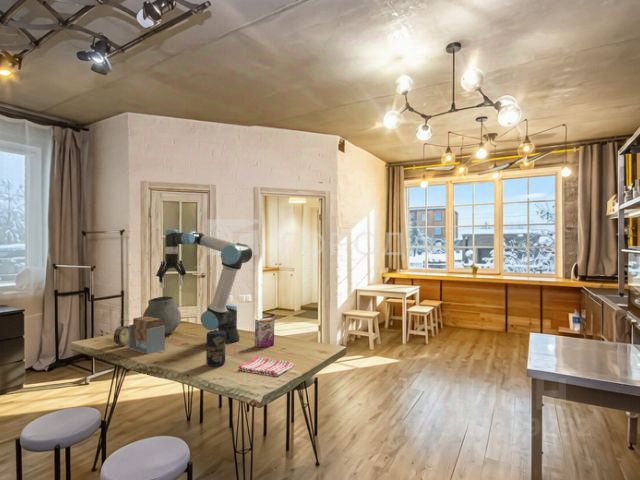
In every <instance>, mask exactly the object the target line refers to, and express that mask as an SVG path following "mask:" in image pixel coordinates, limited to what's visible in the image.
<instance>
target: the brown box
mask: <svg viewBox="0 0 640 480" xmlns="http://www.w3.org/2000/svg"><path fill="white" fill-rule="evenodd" d="M132 322H133V323H132V325H133V339H136V340H140V341H144V342H146V329H150V328H155V327H159V326H161V319H158V318H153V317H147V316H144V317H143V316H141V317H134V318H133V319H132Z"/></svg>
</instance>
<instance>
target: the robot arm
mask: <svg viewBox="0 0 640 480" xmlns="http://www.w3.org/2000/svg"><path fill="white" fill-rule="evenodd" d="M164 237H165V251H164V252H165V261H164V260H162V261H160V266H159V268H158V270H157V272H156V274H155V275H156V277H158V281H159V282H158V283H159V285H160V286H159V287H160V289H162V288H163V289H164V288H165V277H164V276H165V274H167V272H168V270H169V269H175V270H176V272H178V274H179V275H178V286H180V287H181V286H183V281H184V276H185V275H186V274H187V272H186V270H185V267H184V264H183V261H182V260H179V254H178V253H179V245H189V246H190V245H197V246H201V247H205V248H208V249H211V250H214V251H217V252H220V259H221V260H220V261H221V265H222V269H221V273H220V275H219V280H218V282H217V286H216V288H215V292H214V295H213V299H212V300H211V301H212V302H211V303H209V304H208V305H207V309H206V311H204V312H202V313H201V315H200V323H201V325H202V327H203V328H205V330H209V331H214V330H221V331H224V332H225V335H226V336H225V344H233V343H236V342H237V343H238V341H240V335H239V331H238V324H237V323H238V307H237V305H235V304H228V301H229V298H230V295H231V291H232V288H233V285H234V282H235V279H236V276H237V273H238V271H239V270H241V269H242V265H243V264H246V263H248V262H249V261H250V260H251V259H252V258H253V253H254V252H253V249H252V248H251V247H250V246H249V245H248V244H243V243H239V242H236V243H234V242H231V241H227V240H223V239H220V238H217V237H214V236H210V235H206V234H205V233H202V232H190V231H189V232H187V231H186V232H179V230H178V229H166V230H165V235H164Z"/></svg>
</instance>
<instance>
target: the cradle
mask: <svg viewBox="0 0 640 480" xmlns="http://www.w3.org/2000/svg"><path fill="white" fill-rule="evenodd" d="M128 327H129V344H128V350H131V351H134V352H139V353H142V354H144V355H150V354H154V353H158V352H161V351H165V350H166V344H165V343H166V334H165V326H159V327H155V328H150V329H146V342H144V341H140V340H136V339H133V324H129V325H128Z"/></svg>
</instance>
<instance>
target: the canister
mask: <svg viewBox="0 0 640 480" xmlns="http://www.w3.org/2000/svg"><path fill="white" fill-rule="evenodd" d="M225 336H226V335H225V332H224V331H221V330H218V329H215V330H209V331H208V332H207V333H206V345H205V346H206V347H205V350H206V351H205V353H206V354H205V355H206V357H205V359H206V361H205V362H206V363H205V364H206V366H208V367H218V366H219V367H221V366H223V365H224V364H225V363H226V343H225Z"/></svg>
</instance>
